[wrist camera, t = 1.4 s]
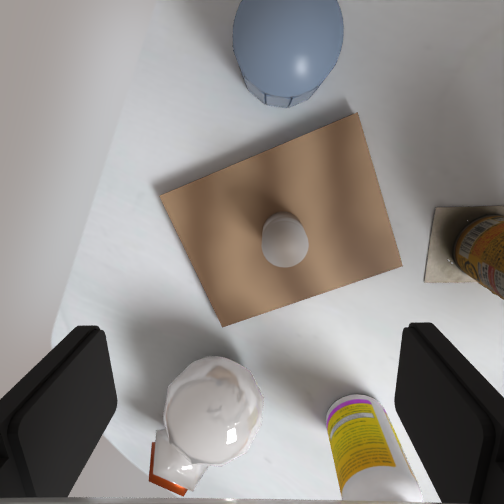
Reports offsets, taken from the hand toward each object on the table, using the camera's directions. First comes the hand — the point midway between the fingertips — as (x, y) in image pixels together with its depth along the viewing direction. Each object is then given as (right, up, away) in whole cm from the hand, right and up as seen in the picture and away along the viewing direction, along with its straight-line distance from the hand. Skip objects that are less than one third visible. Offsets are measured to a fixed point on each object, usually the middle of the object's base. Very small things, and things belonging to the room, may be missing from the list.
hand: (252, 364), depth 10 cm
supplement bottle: (+11, -15, +27) cm, 33 cm away
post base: (+3, +6, +20) cm, 22 cm away
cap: (+3, +19, +16) cm, 25 cm away
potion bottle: (-5, -12, +27) cm, 30 cm away
